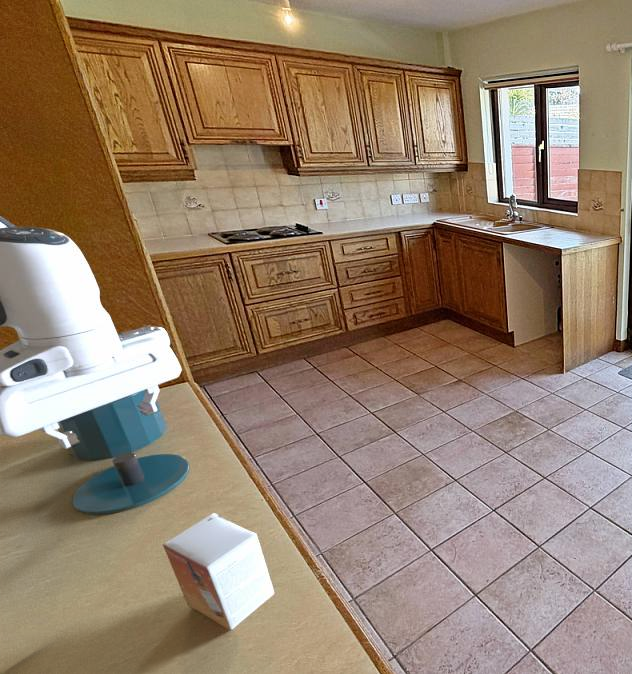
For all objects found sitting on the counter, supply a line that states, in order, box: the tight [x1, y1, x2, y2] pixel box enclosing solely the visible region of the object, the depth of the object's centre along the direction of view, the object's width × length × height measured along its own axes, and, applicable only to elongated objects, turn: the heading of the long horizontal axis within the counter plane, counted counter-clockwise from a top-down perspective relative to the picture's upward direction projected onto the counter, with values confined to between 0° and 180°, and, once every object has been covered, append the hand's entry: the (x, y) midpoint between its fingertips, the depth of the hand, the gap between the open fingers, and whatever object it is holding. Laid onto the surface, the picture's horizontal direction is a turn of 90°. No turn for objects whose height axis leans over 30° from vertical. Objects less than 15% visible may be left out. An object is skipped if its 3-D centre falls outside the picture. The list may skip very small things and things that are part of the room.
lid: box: [72, 452, 190, 516], centre depth 75 cm, size 14×14×6 cm
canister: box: [57, 391, 168, 462], centre depth 84 cm, size 13×13×10 cm
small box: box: [162, 512, 275, 631], centre depth 57 cm, size 8×6×10 cm
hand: (112, 428), depth 72 cm, fingers open, 8 cm apart
